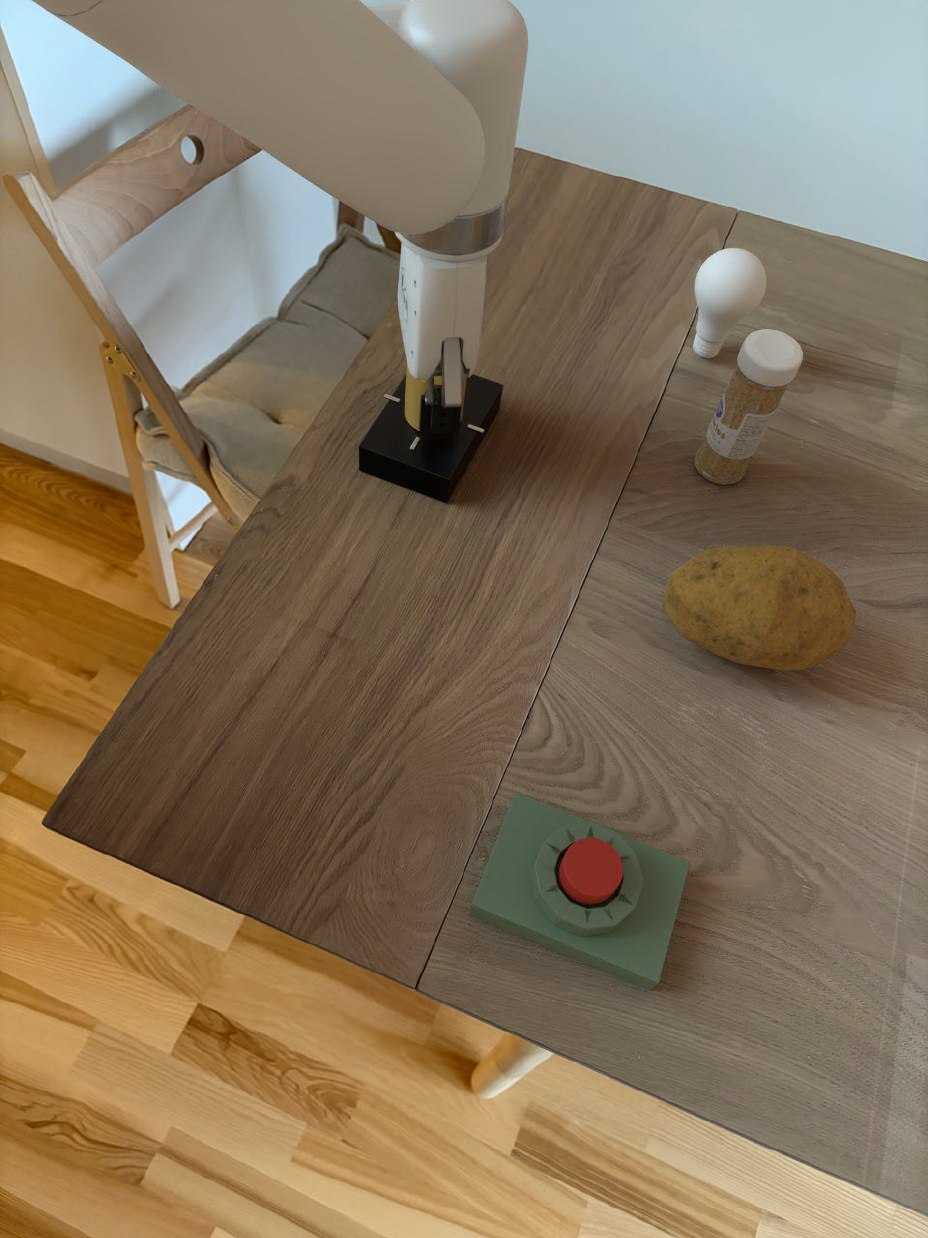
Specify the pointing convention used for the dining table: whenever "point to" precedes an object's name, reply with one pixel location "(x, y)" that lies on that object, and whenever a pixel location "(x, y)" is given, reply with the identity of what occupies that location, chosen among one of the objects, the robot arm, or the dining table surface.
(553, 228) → the dining table surface
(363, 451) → the plate
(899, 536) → the dining table surface
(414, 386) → the lock knob
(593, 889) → the bell button
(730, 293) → the lightbulb
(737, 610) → the potato
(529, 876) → the green button box
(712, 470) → the spice jar
